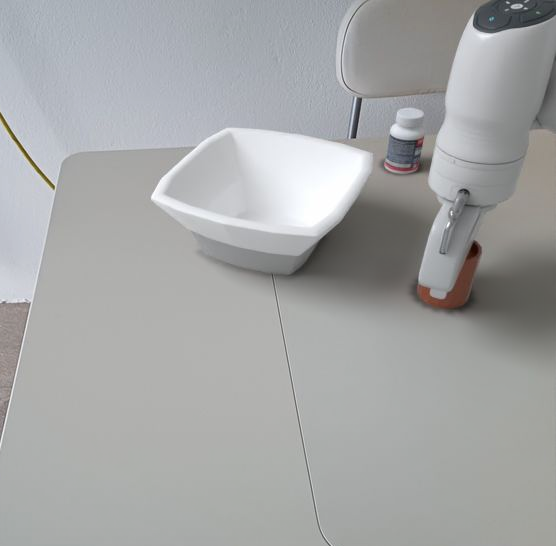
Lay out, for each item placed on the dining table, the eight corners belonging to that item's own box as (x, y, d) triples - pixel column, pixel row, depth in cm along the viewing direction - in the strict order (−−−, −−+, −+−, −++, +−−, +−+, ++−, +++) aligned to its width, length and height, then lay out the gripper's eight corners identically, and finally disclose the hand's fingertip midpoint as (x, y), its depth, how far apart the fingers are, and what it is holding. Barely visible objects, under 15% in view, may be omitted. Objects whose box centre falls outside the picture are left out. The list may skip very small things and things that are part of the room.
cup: (441, 274, 82) (453, 227, 77) (478, 299, 78) (493, 250, 73) (406, 291, 80) (416, 243, 75) (442, 316, 76) (455, 268, 71)
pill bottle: (416, 177, 101) (427, 121, 95) (382, 173, 102) (390, 118, 96) (419, 161, 104) (429, 107, 98) (386, 158, 106) (394, 104, 100)
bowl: (376, 215, 93) (387, 148, 86) (316, 317, 77) (323, 245, 70) (225, 183, 102) (224, 120, 95) (142, 269, 86) (133, 200, 79)
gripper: (484, 225, 60) (452, 336, 70) (522, 137, 73) (491, 241, 82) (416, 211, 63) (394, 320, 72) (465, 128, 75) (440, 229, 85)
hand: (446, 277), depth 77 cm, fingers closed on cup, 6 cm apart
